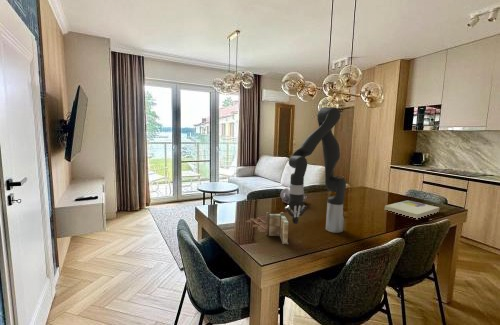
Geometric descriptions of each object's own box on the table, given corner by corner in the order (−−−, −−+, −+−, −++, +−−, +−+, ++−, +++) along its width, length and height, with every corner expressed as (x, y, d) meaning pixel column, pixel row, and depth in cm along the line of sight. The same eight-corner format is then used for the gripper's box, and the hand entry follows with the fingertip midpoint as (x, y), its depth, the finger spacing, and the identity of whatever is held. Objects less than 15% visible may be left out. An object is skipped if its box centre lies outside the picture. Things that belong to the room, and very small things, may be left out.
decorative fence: (263, 218, 170) (244, 221, 164) (264, 216, 170) (244, 219, 163) (283, 230, 150) (261, 234, 143) (283, 228, 150) (261, 231, 143)
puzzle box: (383, 211, 195) (417, 220, 174) (384, 205, 194) (417, 214, 174) (407, 205, 213) (440, 213, 193) (408, 200, 213) (440, 207, 193)
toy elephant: (297, 200, 221) (295, 184, 222) (310, 201, 206) (308, 184, 207) (279, 205, 211) (277, 187, 212) (292, 206, 196) (290, 187, 197)
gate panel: (280, 235, 140) (280, 215, 138) (283, 235, 140) (284, 215, 139) (283, 243, 129) (284, 222, 128) (287, 243, 130) (288, 222, 128)
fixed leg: (283, 233, 143) (284, 212, 141) (283, 235, 140) (284, 213, 139) (265, 233, 142) (265, 212, 140) (265, 235, 140) (266, 213, 138)
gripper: (287, 194, 127) (286, 226, 129) (311, 193, 130) (309, 225, 132) (282, 191, 134) (281, 221, 137) (304, 190, 137) (303, 220, 140)
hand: (295, 223), depth 134 cm, fingers closed
